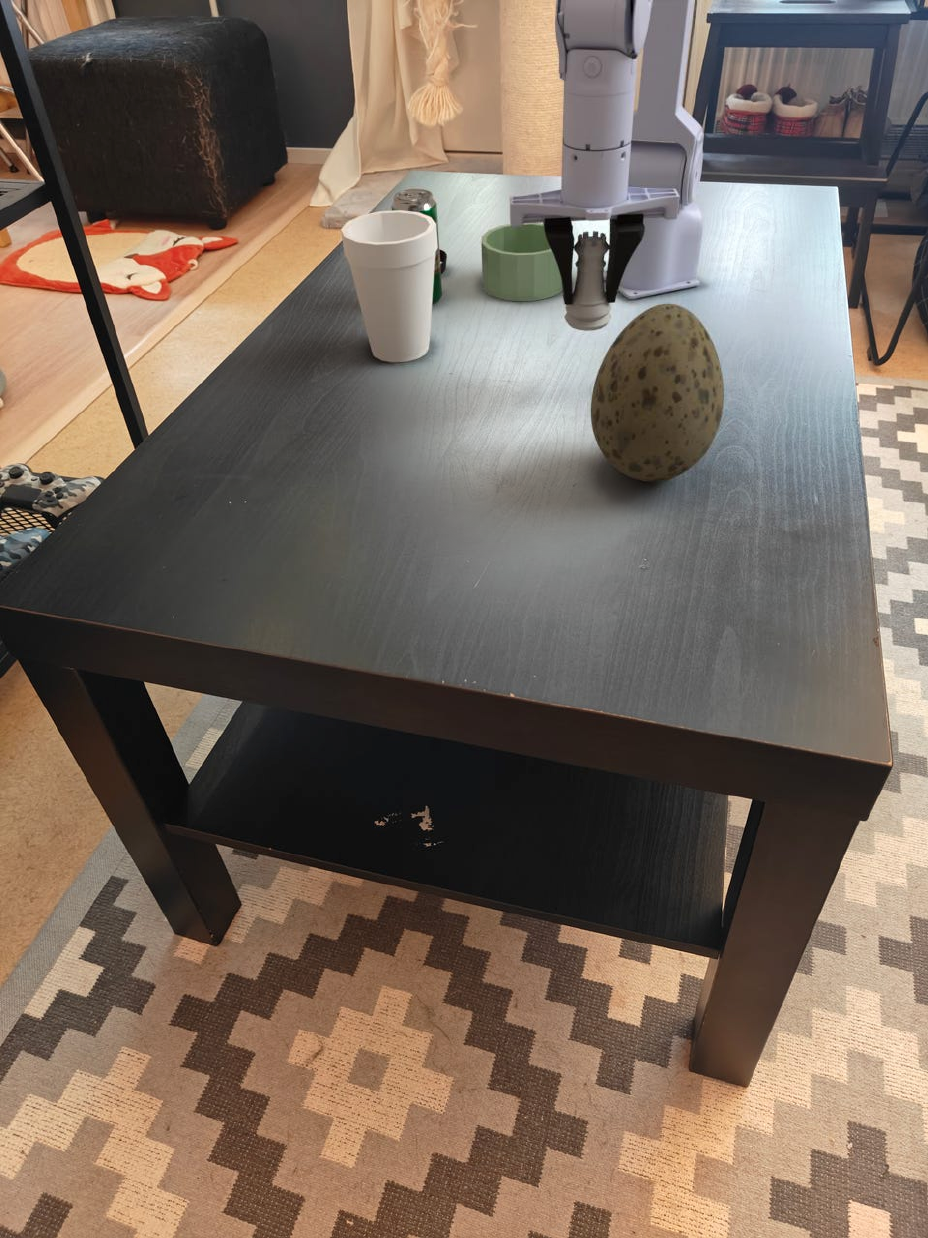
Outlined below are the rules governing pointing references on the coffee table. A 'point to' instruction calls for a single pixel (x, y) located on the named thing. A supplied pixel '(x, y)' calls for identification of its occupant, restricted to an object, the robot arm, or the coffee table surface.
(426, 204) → the soda can
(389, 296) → the foam cup
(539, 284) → the green cup
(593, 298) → the rook chess piece
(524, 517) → the coffee table surface
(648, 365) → the decorative egg
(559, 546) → the coffee table surface
